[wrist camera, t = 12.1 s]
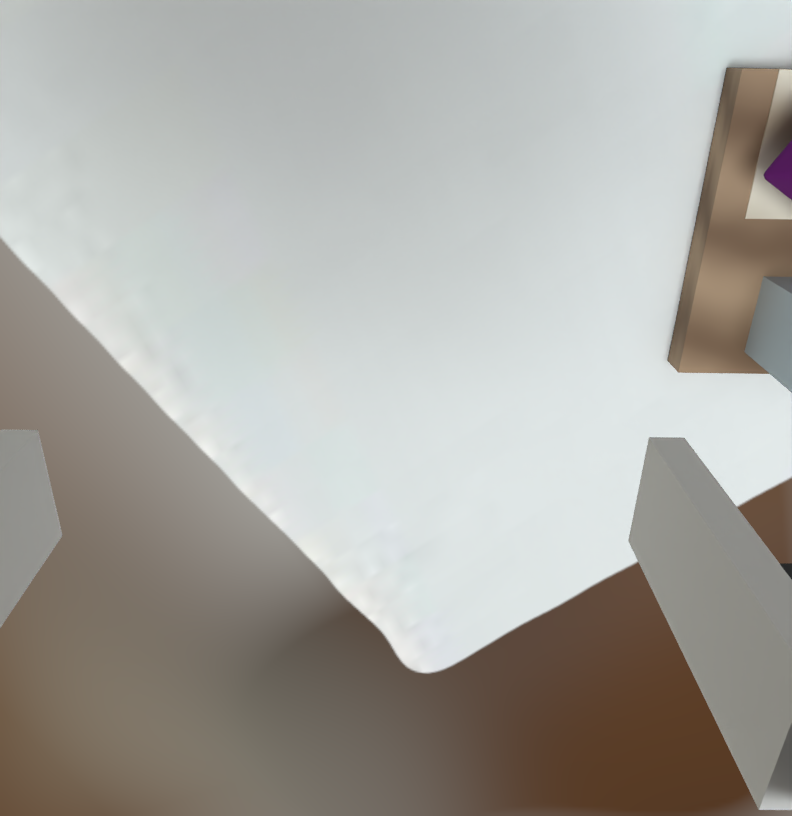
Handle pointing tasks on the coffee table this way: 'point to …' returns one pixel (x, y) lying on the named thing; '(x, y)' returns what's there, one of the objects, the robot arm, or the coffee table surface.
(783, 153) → the perfume bottle
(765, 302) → the tea tin
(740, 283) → the display board
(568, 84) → the coffee table surface
